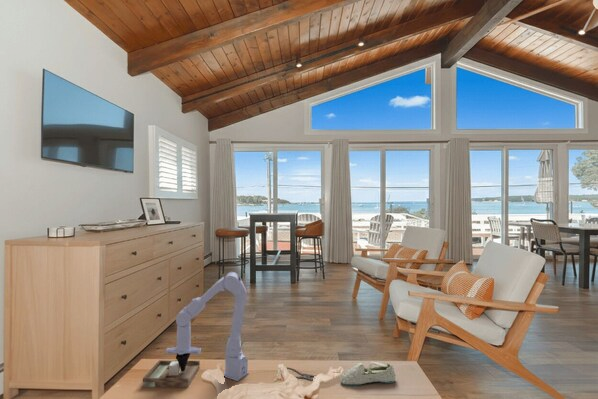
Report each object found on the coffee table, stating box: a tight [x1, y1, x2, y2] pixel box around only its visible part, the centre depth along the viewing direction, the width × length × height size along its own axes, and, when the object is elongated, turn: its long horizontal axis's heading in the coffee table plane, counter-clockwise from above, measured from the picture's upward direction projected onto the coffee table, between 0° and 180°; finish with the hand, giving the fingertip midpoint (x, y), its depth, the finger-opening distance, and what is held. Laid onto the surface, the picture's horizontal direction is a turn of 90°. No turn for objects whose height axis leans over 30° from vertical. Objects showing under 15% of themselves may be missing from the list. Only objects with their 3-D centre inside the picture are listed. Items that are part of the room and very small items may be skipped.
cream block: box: [169, 361, 181, 375], centre depth 142 cm, size 4×4×4 cm
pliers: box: [287, 367, 316, 382], centre depth 146 cm, size 10×1×20 cm
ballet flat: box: [340, 361, 397, 386], centre depth 141 cm, size 9×24×8 cm, turn 97°
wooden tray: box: [142, 359, 201, 388], centre depth 142 cm, size 18×16×4 cm
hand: (183, 370), depth 142 cm, fingers closed
